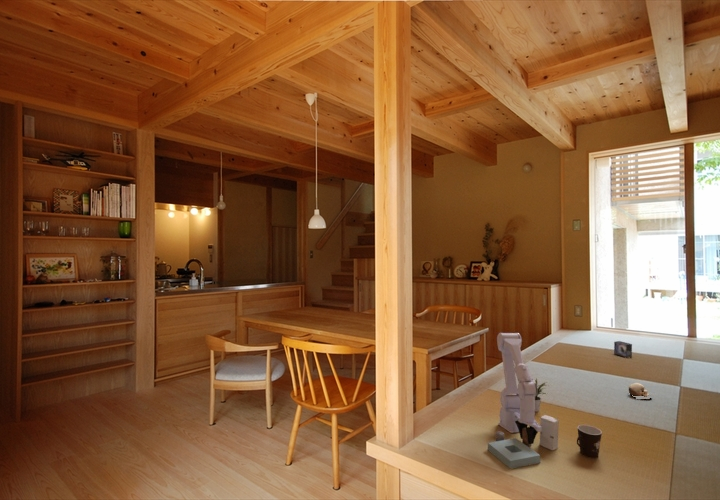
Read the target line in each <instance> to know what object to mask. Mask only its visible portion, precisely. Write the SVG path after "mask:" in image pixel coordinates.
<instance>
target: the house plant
mask: <svg viewBox="0 0 720 500" xmlns="http://www.w3.org/2000/svg"><path fill="white" fill-rule="evenodd" d="M534 381H535V382H536V384H537V388H538V392H537V395H534V396H535V413H538V412H540V410H541V408H540V407H541V404H542V403H541V402H542V398H541V396H542V395H547V394H548V393H547V392H543V387H544V389H546V387H545V386H550V385H549V384H547V383H548V382H547V381H546V382H542V383H541V384H538V379H537V377H536V379H535V380H534ZM540 395H541V396H540Z"/></svg>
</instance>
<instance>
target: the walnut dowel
mask: <svg viewBox="0 0 720 500" xmlns="http://www.w3.org/2000/svg"><path fill="white" fill-rule="evenodd" d="M521 442H522V443H523V444H525V445H526V446H528V447H529V448H531V447H532V444H529V443H528V435H527V431H526V429H525V428H523V430H522V439H521Z"/></svg>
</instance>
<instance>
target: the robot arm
mask: <svg viewBox="0 0 720 500" xmlns="http://www.w3.org/2000/svg"><path fill="white" fill-rule="evenodd" d="M496 342H497V349H498V351H500V352H501V359H502V366H503V367H502V368H503V373H504V382H505V388H504V389H502V390H501V391H500V397H499V398H500V404H501V407H500V409H499V422H498V423H497V424H498V426H500V427H501V428H502V429H504V430H506V431H508V432H509V433H511V434H514V433H519V437H520V439H521V440H522V430H523V428H525V429H526V431H527V435H528V443H529V444H531V445H532V444H534V442H535V439H536V436H537V434H538V433H540V432H541V431H542V427H541V426H540V425H539V423H538V422H537V421H536V419H535V415H536V412H535V396H534V395H537V392H538V387H537V386H538V383H537V384H536V382H535V380H534V378H532V376H531V373H530V370H529V368H528V365H526V364H525V362H524V358H523V354H522V351H521V347H522V342H523V339H522V336H521V334H520V333H519V332H514V333H513V332H499V333H498V334H497V337H496ZM517 382H518V384H517Z"/></svg>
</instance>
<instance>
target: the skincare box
mask: <svg viewBox="0 0 720 500" xmlns="http://www.w3.org/2000/svg"><path fill="white" fill-rule="evenodd" d="M540 426H541V427H542V431H541V432H539V445H540V446H542V447H544V448H545V449H548V450H550V451H554V450H557V449H558V448H559V447H558V446H559V431H560V430H559V429H560V428H559V427H560V419H558V418H555V417H552V416H550V415H548V414H547V415H546V414H543V415H542V416H541V417H540Z"/></svg>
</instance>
